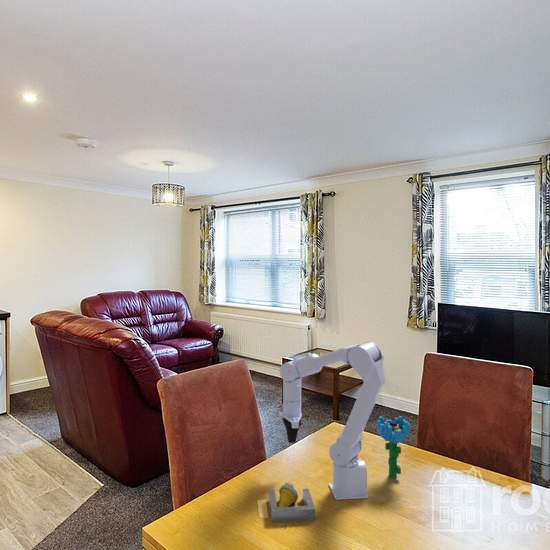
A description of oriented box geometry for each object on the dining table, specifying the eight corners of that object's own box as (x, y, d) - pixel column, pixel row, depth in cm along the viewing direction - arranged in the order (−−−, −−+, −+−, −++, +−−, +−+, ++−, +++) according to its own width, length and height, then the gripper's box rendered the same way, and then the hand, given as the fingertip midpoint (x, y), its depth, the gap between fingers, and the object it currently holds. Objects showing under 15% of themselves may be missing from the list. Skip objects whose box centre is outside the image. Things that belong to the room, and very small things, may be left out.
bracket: (308, 499, 112) (308, 488, 112) (315, 520, 103) (315, 509, 103) (268, 501, 111) (268, 490, 111) (271, 523, 102) (271, 511, 102)
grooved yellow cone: (293, 494, 114) (277, 524, 106) (281, 480, 115) (264, 508, 107) (306, 490, 111) (290, 519, 103) (293, 474, 112) (277, 503, 104)
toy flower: (374, 470, 129) (374, 414, 128) (401, 469, 129) (401, 413, 129) (383, 485, 120) (384, 425, 119) (412, 484, 120) (413, 424, 120)
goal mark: (265, 500, 112) (265, 499, 112) (268, 518, 104) (268, 517, 104) (257, 500, 111) (257, 500, 111) (259, 518, 103) (259, 517, 103)
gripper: (277, 392, 133) (276, 432, 133) (282, 407, 118) (282, 453, 119) (298, 391, 134) (297, 432, 134) (305, 406, 119) (305, 452, 119)
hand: (291, 442), depth 126 cm, fingers closed
